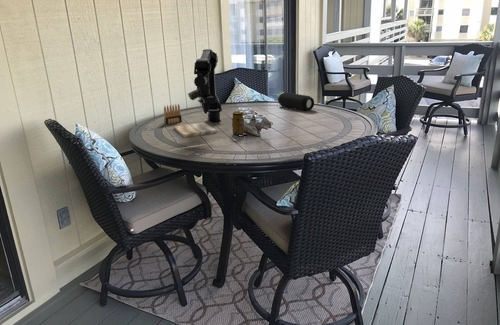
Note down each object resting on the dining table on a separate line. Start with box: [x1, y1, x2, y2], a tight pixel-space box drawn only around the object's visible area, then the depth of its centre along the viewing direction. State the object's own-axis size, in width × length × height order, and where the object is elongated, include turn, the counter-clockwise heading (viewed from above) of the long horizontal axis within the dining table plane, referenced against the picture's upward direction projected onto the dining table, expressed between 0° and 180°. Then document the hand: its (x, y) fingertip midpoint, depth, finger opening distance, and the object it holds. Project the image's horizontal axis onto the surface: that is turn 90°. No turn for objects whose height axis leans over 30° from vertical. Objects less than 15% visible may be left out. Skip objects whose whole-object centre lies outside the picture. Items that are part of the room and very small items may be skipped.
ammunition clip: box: [163, 103, 183, 125], centre depth 241 cm, size 11×2×12 cm, turn 125°
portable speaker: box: [277, 91, 315, 112], centre depth 274 cm, size 26×10×10 cm, turn 42°
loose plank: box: [188, 122, 218, 136], centre depth 225 cm, size 9×20×2 cm, turn 26°
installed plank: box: [173, 124, 201, 139], centre depth 221 cm, size 9×20×2 cm, turn 26°
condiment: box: [231, 111, 245, 137], centre depth 215 cm, size 7×8×12 cm
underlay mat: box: [167, 128, 221, 140], centre depth 223 cm, size 23×22×1 cm
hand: (205, 113), depth 218 cm, fingers closed
